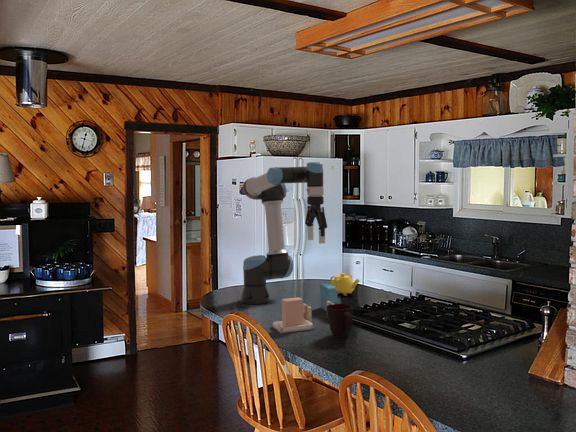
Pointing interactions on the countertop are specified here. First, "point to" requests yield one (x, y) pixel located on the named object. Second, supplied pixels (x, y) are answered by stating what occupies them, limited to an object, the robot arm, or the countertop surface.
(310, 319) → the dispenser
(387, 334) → the countertop surface
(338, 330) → the cup
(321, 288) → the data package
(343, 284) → the teapot
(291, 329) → the tray
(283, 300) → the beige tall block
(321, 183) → the robot arm
